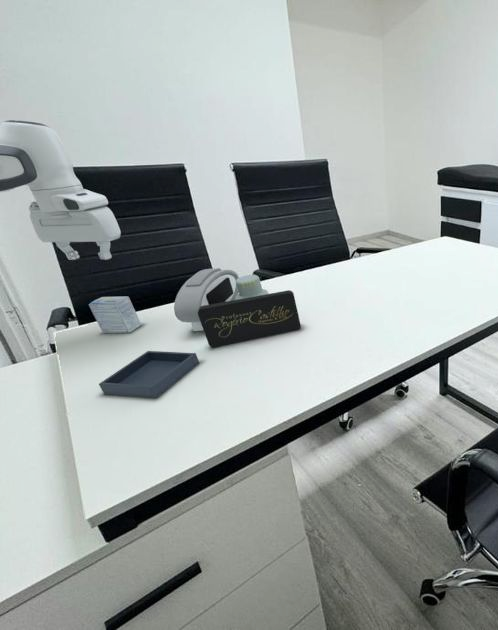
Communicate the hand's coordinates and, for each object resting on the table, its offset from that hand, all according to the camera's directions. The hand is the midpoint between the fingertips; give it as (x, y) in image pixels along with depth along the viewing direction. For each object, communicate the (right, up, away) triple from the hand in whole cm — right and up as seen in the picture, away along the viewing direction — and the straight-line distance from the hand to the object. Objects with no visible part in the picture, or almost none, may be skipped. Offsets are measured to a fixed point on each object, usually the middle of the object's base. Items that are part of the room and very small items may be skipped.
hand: (90, 259), depth 93 cm
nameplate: (+40, -19, +1) cm, 45 cm away
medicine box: (+1, -18, +9) cm, 20 cm away
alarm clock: (+24, -14, +13) cm, 31 cm away
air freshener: (+35, -13, +13) cm, 39 cm away
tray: (+24, -27, -13) cm, 38 cm away
